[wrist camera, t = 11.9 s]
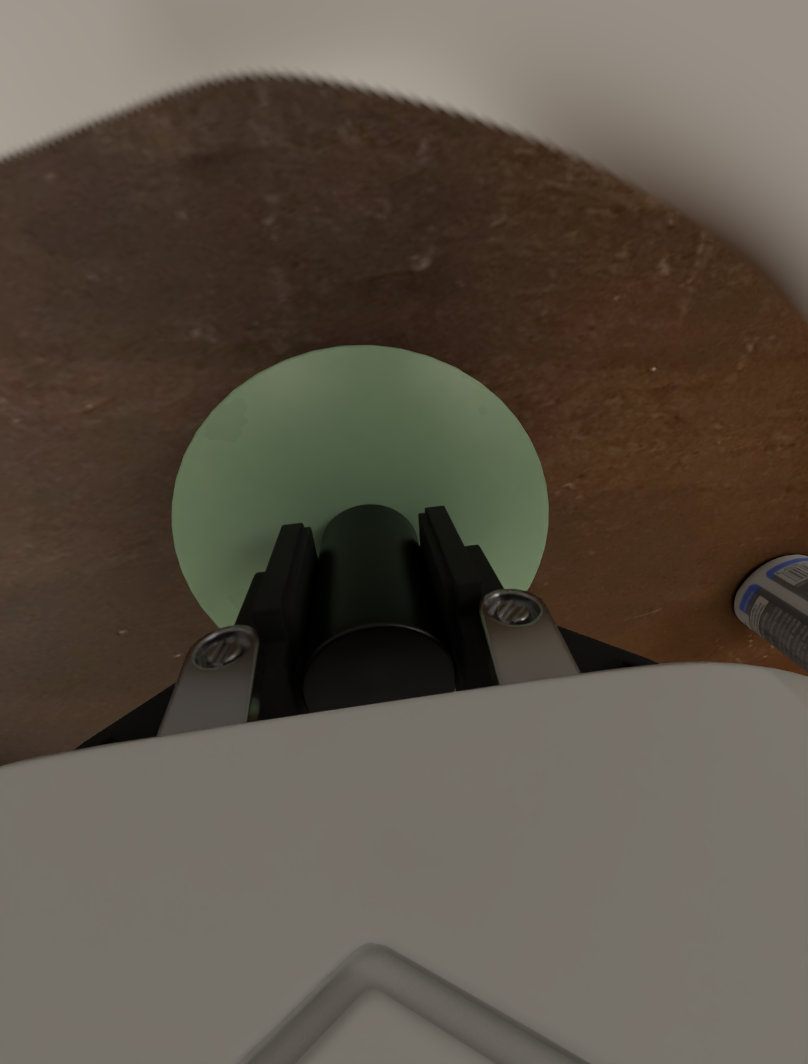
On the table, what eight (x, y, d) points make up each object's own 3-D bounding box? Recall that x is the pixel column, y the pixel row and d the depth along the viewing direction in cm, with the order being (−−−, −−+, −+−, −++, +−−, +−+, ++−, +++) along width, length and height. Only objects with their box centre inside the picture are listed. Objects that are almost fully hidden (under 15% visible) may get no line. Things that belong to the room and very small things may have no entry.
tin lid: (240, 680, 16) (173, 888, 10) (124, 365, 11) (-154, 412, 5) (526, 639, 17) (621, 811, 11) (548, 324, 11) (756, 322, 5)
